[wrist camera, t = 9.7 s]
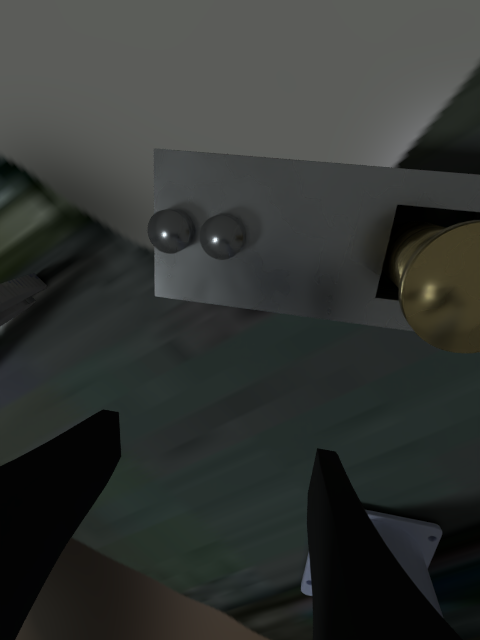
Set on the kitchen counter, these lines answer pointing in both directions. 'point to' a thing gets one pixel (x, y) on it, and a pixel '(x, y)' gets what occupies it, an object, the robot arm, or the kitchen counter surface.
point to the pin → (438, 281)
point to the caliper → (18, 296)
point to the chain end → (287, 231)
